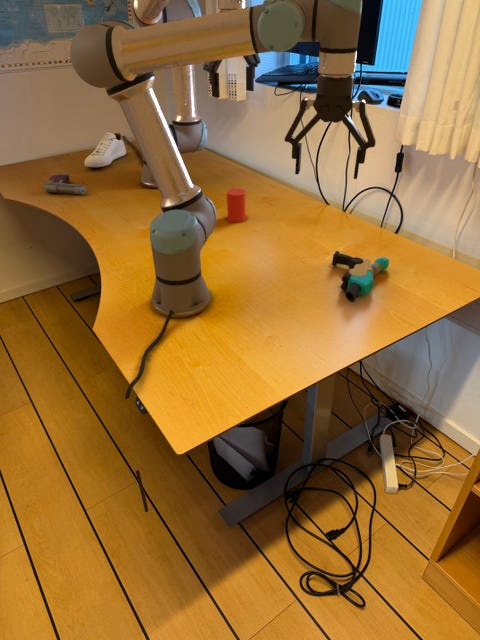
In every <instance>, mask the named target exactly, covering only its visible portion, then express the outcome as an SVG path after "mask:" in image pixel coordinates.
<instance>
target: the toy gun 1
mask: <svg viewBox="0 0 480 640" xmlns="http://www.w3.org/2000/svg"><path fill="white" fill-rule="evenodd" d="M70 181H71V180H70V175H69V173H55V174H54V175H53V174H52V175H51V176H50V177H49V181H48V182H45V183H44V186H43V187H42V190H43V191H45V192H47V193H56V194H71V195H85V192H86V190H87V187H86V186H85V185H82V184H78V183H76V184H75V183H74V184H73V183H70Z"/></svg>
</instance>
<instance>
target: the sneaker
mask: <svg viewBox="0 0 480 640" xmlns="http://www.w3.org/2000/svg"><path fill="white" fill-rule="evenodd" d="M126 155H127V148H126V146H125V143H124V138H123V135H122V133H121V132H114V133H113V132H109V131H108V132H105V133H104V134H103V136H102V137H101V140H100V141H99V142H98V143H97V146H96V147H95V149H94V150H93V151H92V152H91V153H90V154H89V155H88V156H87V157H85V160H84V163H83V164H84V166H85V167H86V168H93V169H94V168H95V169H96V168H103V167H107V166H109V165H111V163H112V162H113V161H114V160H117V159H119V158H122V157H125V156H126Z"/></svg>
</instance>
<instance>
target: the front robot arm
mask: <svg viewBox="0 0 480 640" xmlns="http://www.w3.org/2000/svg"><path fill="white" fill-rule="evenodd" d="M362 10H363V0H264V1H263V2H262V4H261V3H260V4H257V5H253V6H247V7H246V6H245V8H241V9H236V10H230V11H225V12H220V11H219V12H220V13H219V12H215V13H211V14H210V13H209V14H205V15H201V16H199V17H194V18H188V19H183V20H178V21H173V22H168V23H162V24H157V25H152V26H147V27H139V26H137V25H135V24H134V23H132V22H130V21H127V20H123V19H122V20H121V19H110V20H107V21H103V22H99V23H93V24H89V25H86V26H83V27H82V28H80V29H79V30H78V31H77V32H76V33H75V35H73V38H72V40H71V43H70V47H69V57H70V61H71V65H72V67H73V70H74V71H75V73H76V74H77V75H78V77H79V78H80V79H81V80H82V81H83V82H85V83H86V84H88V85H90V86H92V87H93V88H94V87H95V88H98V89H104V90H105V91H106V94H107V96H108V98H110V99H112V100H113V101H116V102H117V103H118V104H119V106H120V108H121V111H122V113H123V115H124V117H125V120H126V122H127V123H128V126H129V128H130V130H131V133H132V134H133V137H134V139H135V141H136V144H137V146H138V148H139V150H140V152H141V155H142V154H143V156H144V158H145V161H146V163H147V165H148V167H149V169H150V171H151V174H152V176H153V178H154V180H155V182H156V184H157V187H158V188H157V190H158V191H159V193H160V195H161V199H160V203H159V207H160V209H161V212H162V213H159V214H157V215H156V216H155V217H154V218H153V219H152V221H151V222H150V225H149V241H150V247H151V253H152V260H153V261H152V262H153V268H154V274H155V275H154V276H155V281H154V284H153V290H152V294H151V305H152V308H153V310H154V311H155V312H156V313H157V314H159V315H160V316H163V317H166V318H165V321H164V323H163V326H162V328H161V330H160V332H159V334H158V336H157V337H156V338H155V339H154V340H153V341H152V343H150V345H149V346H148V347H147V348H146V349H145V351H144V353H143V355H142V357H141V360H140V361H141V362H140V366H139V371H138V373H137V375H136V377H135V378H134V379H133V380H132V381H131V382H130V384H129V385H128V386H127V389H126V391H125V395H124V396H125V397H124V399H125V400H128V399H129V398H130V397H131V392H132V390H133V388H134V386H135V385H136V384H137V383H138V382H139V381H140V379H141V378H142V376H143V374H144V370H145V366H146V360H147V357H148V355H149V353H150V352H151V350H152V349H153V348H154V347H155V346H156V345H157V344H158V343H159V341H160V340H161V339H162V338H163V336H164V334H165V333H166V330H167V328H168V325H169V323H170V320H171V319H183V318H185V319H186V318H190V317H194V316H196V315H199V314H201V313H202V312H204V311H205V310H207V308H208V307H209V306H210V303H211V294H210V293H211V292H210V290H209V288H208V286H207V284H206V281H205V278H204V277H203V275H202V262H201V261H202V259H201V253H202V250H203V247H204V246H205V245H206V243H207V241H208V239H209V238H210V236H211V235H212V233H213V232H214V230H215V228H216V223H217V219H218V213H217V208H216V206H215V204H214V202H213V201H212V200H211V199H210V198H209V197H208V196H206V195H204V192H203V190H202V188H201V186H199V185H196V184H195V183H193V181H192V179H191V176H190V174H189V172H188V169H187V167H186V165H185V162H184V160H183V157H182V154H180V153H179V150H178V148H177V145H176V143H175V141H174V138H173V136H172V134H171V131H170V129H169V126H168V124H169V123H168V124H167V122H168V121H167V120H166V117H165V115H164V112H163V111H162V107H161V106H160V103H159V100H158V98H157V96H156V94H155V91H154V87H153V86H154V83H155V80H156V76H155V74H154V72H157V71H162V70H168V69H172V68H175V67H181V66H187V65H192V64H194V65H197V64H204V63H205V62H210V61H216V60H222V59H223V60H227V59H234V58H240V57H243V56H245V55H251V54H257V53H258V54H264V53H271V52H272V53H283V52H287V51H290V50H291V49H293V48H294V47H295V46H296V45H297V44H298V43H307V42H308V43H309V42H310V43H311V42H312V43H316V42H318V43H319V44H320V45H319V51H318V52H319V53H318V67H317V72H318V73H319V75H318V76H317V78H316V79H317V81H316V93H315V98H314V99H312V98H311V99H310V98H308V97H306V96H304V97H303V98H302V99H301V101H300V105H299V110H298V112H297V115H296V116H295V118H294V120H293V122H292V124H291V125H290V127H289V128H288V131H287V133H286V135H285V137H284V142H285V143H289V144H291V159H292V160H295V169H294V170H295V171H294V172H295V173H294V174H295V175H300V172H301V165H302V163H301V161H302V148H303V143H302V142H300V141H301V140H303V139H304V138H305V136H306V135H307V134H308V133H309V132H310V131H311V130H312V129H313V128H314V126H316V125H317V123H319V121H320V120H321V121H322V122H323V123H334V124H339V123H340V122H342V123H343V125H344V126H345V127H346V128H347V130H348V131H349V133H350V134H351V136H352V138H353V139H354V141H355V142H356V143H357V145H358V146H357V150H356V155H355V156H356V157H355V164H354V173H353V179H354V180H357V179H358V175H359V167H360V165H361V164H362V165H364V164H365V162H366V161H365V160H366V154H367V150H368V149H370V148H375V147H376V142H377V141H376V138H375V135H374V132H373V128H372V125H371V123H370V120H369V117H368V113H367V111H366V109H367V107H366V105H367V101H366V100H365V99H361V100H358V101H353V97H352V95H353V88H354V76H353V74H354V73H355V72H356V71H355V70H356V60H357V54H358V52H357V50H358V43H359V36H360V28H361V20H362V13H363V12H362ZM223 60H222V61H223ZM311 107H313V109H314V110H315V112H316V114H315V115H314V116H313V117H312V118H311V119H310V120H309V121H308V122H307V124H306V125H305V126H304V127H303V128H302V130H300V131H299V133H298V134H297V135H296V136H294V134H295V131H296V130H297V128H298V127H299V124H300V122H301V121H302V119H303V117H304V116H305V113H306V112H307V111H309V110H310V108H311ZM352 109H354V110H355V112H356V113H358V114H359V119H360V121H361V124H362V127H363V131H364V133H365V136H366V139H367V140H366V139H365V137H364V136H363V135H362V133H361V132H360V130H359V129H358V127H357V126H356V124H355V123H354V121H353V120H352V118H351V115H350V114H349V113H350V112H351V110H352ZM166 121H167V122H166ZM134 471H135V475H136V476H135V477H136V479H137V483H138V487H139V493H140V495H141V499H142V503H143V508H144V513H148V512H149V508H148V502H147V497H146V493H145V490H144V489H145V488H144V484H143V480H142V475H141V471H140V470H139V469H138V470H136V469H135V470H134Z"/></svg>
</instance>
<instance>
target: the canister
mask: <svg viewBox="0 0 480 640" xmlns="http://www.w3.org/2000/svg"><path fill="white" fill-rule="evenodd" d="M246 193H247V192H246V190H245V189H243V188H230V189H228V190H227V191H226V205H227V206H226V207H227V208H226V209H227V220H228V221H229V222H231V223H242V222H244V221H246V219H247V215H246V214H247V209H246V207H247V206H246V205H247V201H246V200H247V199H246V198H247V197H246Z"/></svg>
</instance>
